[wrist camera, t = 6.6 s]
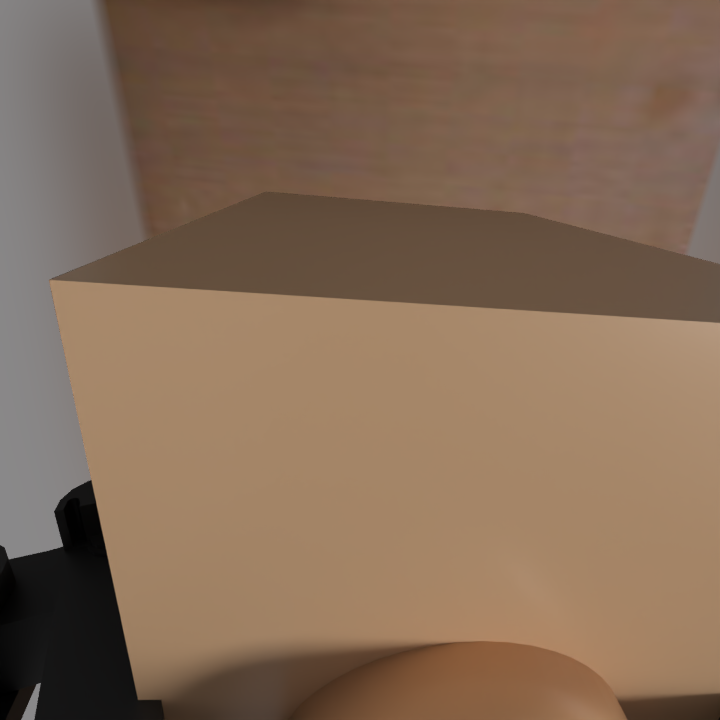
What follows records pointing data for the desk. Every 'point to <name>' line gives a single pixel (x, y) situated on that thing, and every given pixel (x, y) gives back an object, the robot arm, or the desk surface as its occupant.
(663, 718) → the tan block with dome
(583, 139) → the desk surface
